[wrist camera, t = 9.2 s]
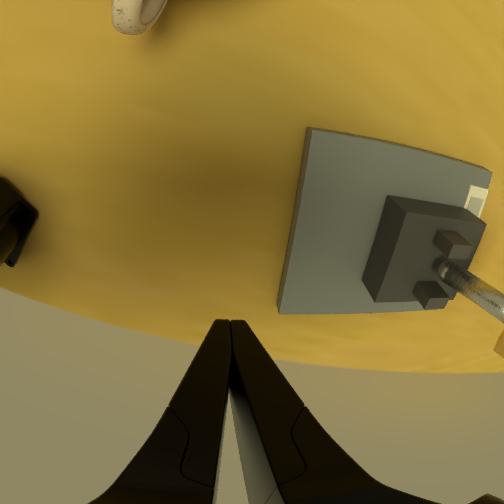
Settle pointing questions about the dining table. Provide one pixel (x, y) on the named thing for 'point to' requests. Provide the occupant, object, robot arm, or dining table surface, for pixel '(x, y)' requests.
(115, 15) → the teacup with lid
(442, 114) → the dining table surface
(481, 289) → the lever
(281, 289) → the switch board
